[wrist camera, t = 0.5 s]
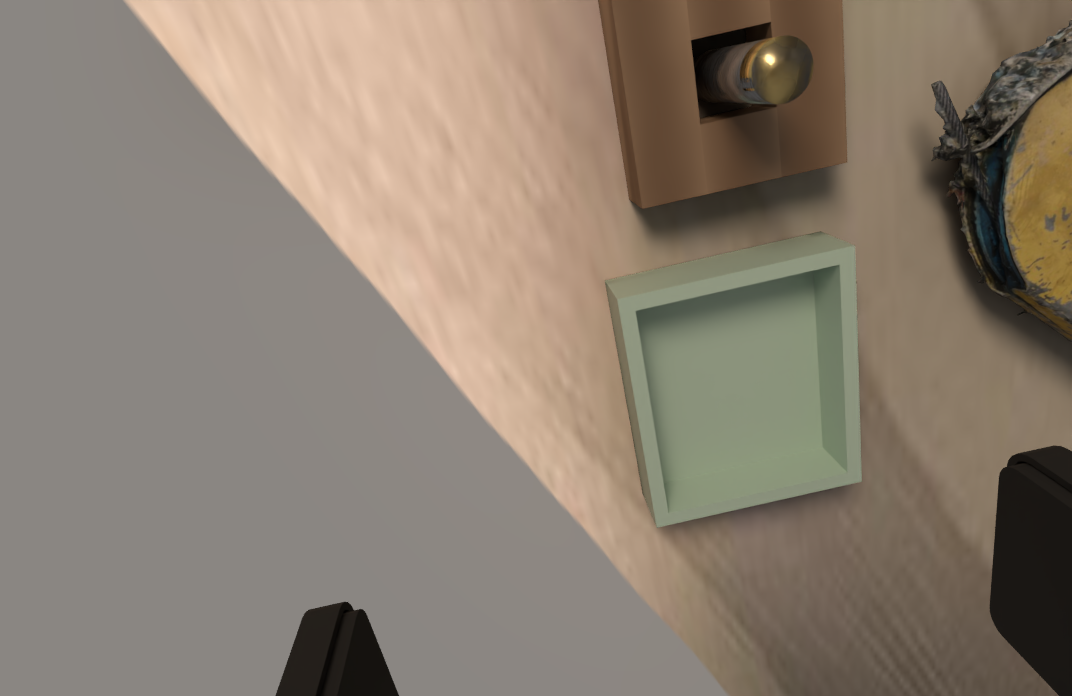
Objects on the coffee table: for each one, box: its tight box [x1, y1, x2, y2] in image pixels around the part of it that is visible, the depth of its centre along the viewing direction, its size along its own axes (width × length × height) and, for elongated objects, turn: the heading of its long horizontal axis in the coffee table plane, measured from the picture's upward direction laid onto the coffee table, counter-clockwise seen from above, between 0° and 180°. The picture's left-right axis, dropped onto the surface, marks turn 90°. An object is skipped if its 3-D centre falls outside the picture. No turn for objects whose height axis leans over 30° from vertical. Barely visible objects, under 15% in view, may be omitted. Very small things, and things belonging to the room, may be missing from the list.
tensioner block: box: [598, 0, 847, 209], centre depth 31 cm, size 10×10×3 cm
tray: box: [605, 232, 862, 528], centre depth 36 cm, size 12×14×4 cm
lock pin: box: [693, 35, 814, 104], centre depth 28 cm, size 2×2×8 cm
